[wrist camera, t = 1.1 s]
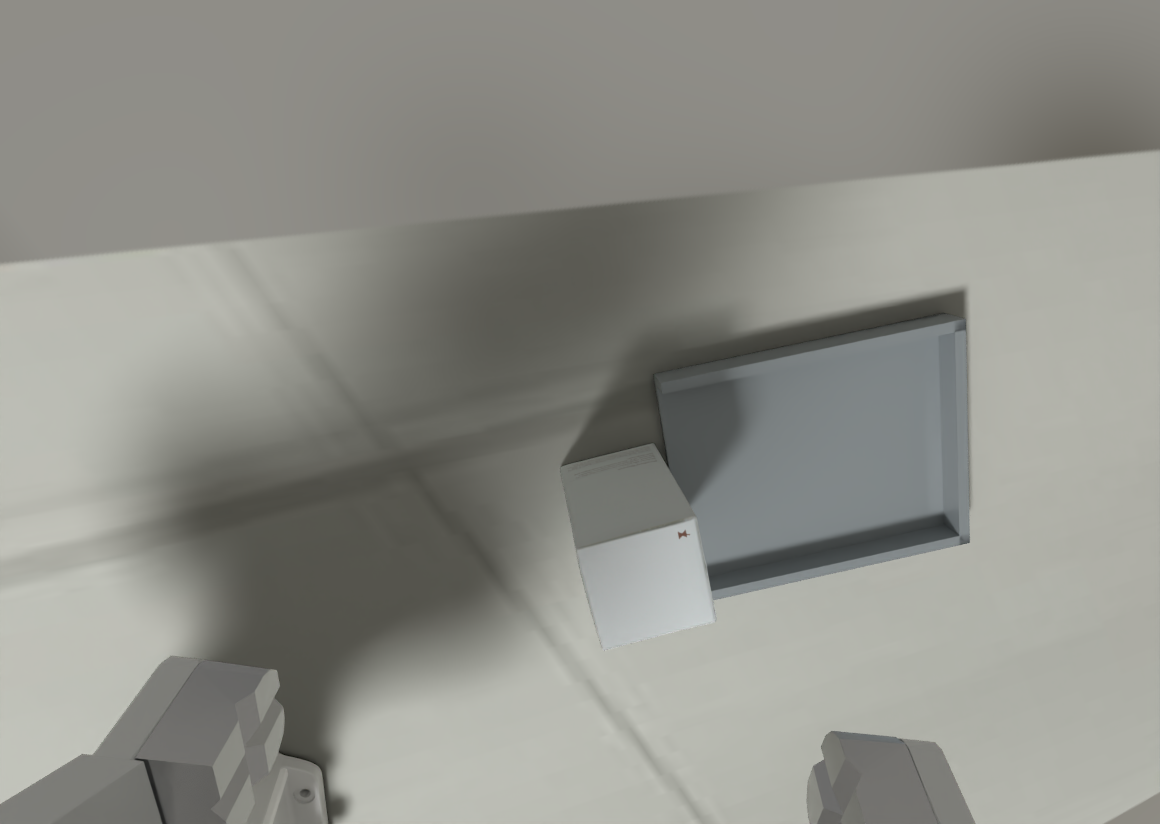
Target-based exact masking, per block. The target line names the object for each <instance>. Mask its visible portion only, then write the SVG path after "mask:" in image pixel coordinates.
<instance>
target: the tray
mask: <svg viewBox="0 0 1160 824" xmlns="http://www.w3.org/2000/svg"><path fill="white" fill-rule="evenodd" d="M653 375H654V381H655V387H656V393H657V399H658V406H659V412H660V418H661V424H662V431H663V437H664V443H665V449H666V455H667V462H668V468H669V470H670V472H671V474H672V475H673V477H674V479H675V480H676V482H677V484H678V486H679V487H680V489H681V491H682V493H683V494H684V496H685V498H686V499H687V501H688V503H689V505H690V506H691V508H692V510H693V512H694V513H695V515H696V517H697V521H698V527H699V532H700V537H701V542H702V548H703V553H704V558H705V561H706V565H707V571H708V577H709V582H710V587H711V592H712V597H713V600H717V599H721V598H726V597H730V596H734V595H739V594H743V593H748V592H752V591H757V590H761V589H766V588H770V587H775V586H779V585H784V584H788V583H793V582H797V581H801V580H806V579H810V578H815V577H819V576H824V575H828V574H833V573H837V572H842V571H846V570H851V569H855V568H860V567H864V566H868V565H873V564H877V563H882V562H886V561H891V560H895V559H900V558H904V557H909V556H913V555H918V554H922V553H926V552H931V551H935V550H940V549H944V548H949V547H953V546H958V545H962V544H967V543H970V529H969V473H968V417H967V361H966V319H964V318H961V317H957V316H953V315H950V314H946V313H942V314H938V315H933V316H928V317H923V318H919V319H914V320H909V321H904V322H899V323H895V324H890V325H885V326H880V327H876V328H871V329H866V330H861V331H857V332H852V333H847V334H842V335H838V336H833V337H828V338H823V339H819V340H814V341H809V342H804V343H799V344H795V345H790V346H785V347H780V348H776V349H771V350H766V351H761V352H757V353H752V354H747V355H742V356H738V357H733V358H728V359H723V360H718V361H714V362H709V363H704V364H699V365H695V366H690V367H685V368H680V369H676V370H671V371H666V372H661V373H657V374H653Z"/></svg>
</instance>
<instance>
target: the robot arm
mask: <svg viewBox="0 0 1160 824" xmlns="http://www.w3.org/2000/svg"><path fill="white" fill-rule="evenodd" d="M279 687H280V683H279V678H278V673H277V670H273V669H266V668H259V667H252V666H245V665H238V664H231V663H224V662H217V661H209V660H202V659H194V658H185V657H177V656H170V657H169V658H168V659H166V660H165V661H164V662H162V663H161V664H160V665H159V666H158V667H157V669H156V670H155V671H154V673H153V674H152V675H151V677H150V678H149V679H148V681H147V682H146V683H145V685H144V686H143V687H142V689H141V690H140V692H139V693H138V694H137V696H136V697H135V698H134V700H133V701H132V702H131V704H130V705H129V706H128V708H127V709H126V711H125V712H124V713H123V715H122V716H121V717H120V719H119V720H118V721H117V723H116V724H115V725H114V727H113V728H112V730H111V731H110V732H109V734H108V735H107V736H106V738H105V739H104V740H103V742H102V743H101V744H100V746H99V747H98V749H97V750H96V751H95V753H94V754H93V755H87V754H81V755H80V756H78V757H76V758H75V759H73V760H72V761H70V762H68V763H67V764H65V765H63V766H62V767H60V768H59V769H57V770H55V771H54V772H52V773H50V774H49V775H47V776H45V777H44V778H42V779H41V780H39V781H37V782H36V783H34V784H32V785H31V786H29V787H28V788H26V789H24V790H23V791H21V792H19V793H18V794H16V795H14V796H13V797H11V798H10V799H8V800H6V801H5V802H3V803H1V804H0V824H328V817H327V809H326V801H325V793H324V785H323V777H322V772H321V770H320V768H319V767H318V766H317V765H315V764H314V763H312V762H309V761H306V760H302V759H298V758H294V757H290V756H285V755H282V754H280V753H278V752H279V748H280V745H281V741H282V737H283V734H284V722H285V716H284V708H283V706H282V705H281V704H280V703H279V702H278V701H277V700H276V699H275V698H274V697H275V695H276V693H277V691H278V689H279ZM821 749H822V753H823V756H824V760H822V761H821V762H819V763H818V764H816V765H814V766H813V768H812V771H811V774H810V776H809V779H808V785H807V800H806V801H807V810H808V818H809V823H810V824H975V821H974V819H973V817H972V815H971V813H970V810H969V808H968V806H967V804H966V802H965V799H964V797H963V795H962V793H961V791H960V788H959V786H958V784H957V782H956V780H955V777H954V775H953V773H952V771H951V769H950V766H949V764H948V762H947V760H946V758H945V755H944V753H943V751H942V749H941V748H940V747H939V746H938V745H937V744H936V743H935V742H928V741H919V740H909V739H898V738H896V737H889V736H879V735H869V734H858V733H848V732H838V731H831V732H829V733H828V734H827V735H826V736H825V738H824V740H823V743H822V745H821ZM304 789H308V790H304Z"/></svg>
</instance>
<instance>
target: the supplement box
mask: <svg viewBox="0 0 1160 824" xmlns="http://www.w3.org/2000/svg"><path fill="white" fill-rule="evenodd" d="M560 472H561V477H562V482H563V487H564V492H565V497H566V502H567V507H568V512H569V517H570V522H571V527H572V533H573V538H574V543H575V549H576V554H577V559H578V564H579V568H580V573H581V577H582V581H583V585H584V589H585V593H586V596H587V600H588V604H589V607H590V611H591V614H592V618H593V621H594V624H595V628H596V631H597V634H598V638H599V641H600V644H601V647H602V650H604V651H605V650H608V649H612V648H616V647H620V646H624V645H628V644H631V643H635V642H639V641H643V640H647V639H650V638H654V637H658V636H662V635H665V634H669V633H673V632H677V631H681V630H685V629H690V628H694V627H698V626H702V625H706V624H710V623H714V622H716V619H717V617H716V612H715V607H714V602H713V597H712V592H711V587H710V582H709V577H708V571H707V565H706V561H705V558H704V553H703V548H702V542H701V537H700V532H699V527H698V521H697V517H696V515H695V513H694V512H693V510H692V508H691V506H690V505H689V503H688V501H687V499H686V498H685V496H684V494H683V493H682V491H681V489H680V487H679V486H678V484H677V482H676V480H675V479H674V477H673V475H672V474H671V472H670V470H669V468H668V467H667V465H666V463H665V462H664V460H663V458H662V456H661V454H660V453H659V451H658V449H657V448H656V446H655V444H654V443H651V444H647V445H643V446H639V447H635V448H631V449H627V450H623V451H619V452H615V453H611V454H607V455H603V456H599V457H595V458H591V459H587V460H583V461H580V462H575V463H572V464H568V465H565V466H562V467H561V468H560Z"/></svg>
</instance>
